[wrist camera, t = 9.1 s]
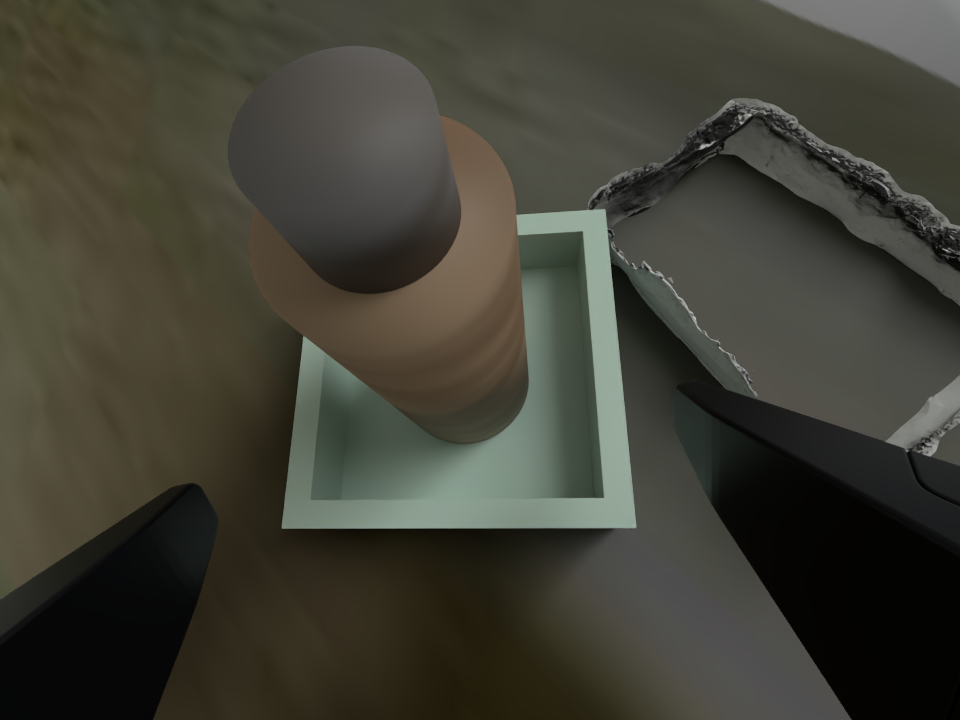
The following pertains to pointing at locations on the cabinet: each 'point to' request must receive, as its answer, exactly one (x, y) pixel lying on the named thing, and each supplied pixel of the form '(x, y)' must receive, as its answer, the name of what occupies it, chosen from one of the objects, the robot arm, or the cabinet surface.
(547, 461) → the tray
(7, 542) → the cabinet surface
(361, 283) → the pepper mill
